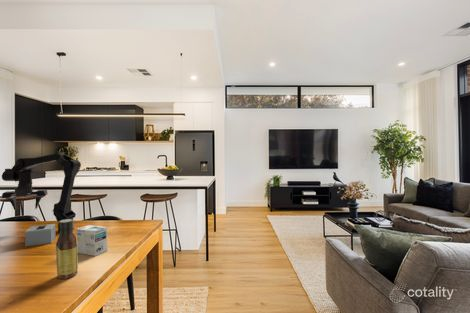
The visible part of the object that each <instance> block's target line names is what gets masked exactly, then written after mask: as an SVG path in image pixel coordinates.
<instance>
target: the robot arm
mask: <svg viewBox="0 0 470 313" xmlns="http://www.w3.org/2000/svg"><path fill="white" fill-rule="evenodd" d="M51 162H57V163H58V164H59V165H60V166H62V167H63V169H62V171H63V173H64V179H63V183H62V188H61V193H60V197H59V201H58V202H57V203H54V204H53V209H52V212H53V216H54V217H55V219H56V221H57V222H58V223H57V231H58V232H57V233H59V234H60V226H59V221H61V220H65V219H72V220H73V221H74V218H76V215H77V214H76V213H75V212H74V210H72V204H71V198H72V192H73V187H74V183H75V178H76V176H77V174H78V173H79V171H80V169H81V167H82V165H81V164H82V163H81V162H80V161H79V160H78V159H74V158H73V157H72V156H71V157H70V156H68V155H66V154H65V153H62V152H56V153H52V154H48V155H41V156H38V157H23V158H21V157H20V158H18V159H16V162H15V164H14V165H12V168H5V169H4V171H3V172H2V175H1V179H2V180H3V181H4V182H17V181H18V184H17V187H16V188H15V190H14V191H13V190H11V191H4V192H3V193H2V194H1V199H5V200H7V201H8V202H9V203H10V204H11V206H12V208H13V210H14V211H17V198H18V197H27V196H35V206H34V207H35V210H36V209H37V208H38V206H39V204H40V202H41V200H42V198H44V197H45V196H47V195H48V190H47V189H38V190H36V191H33V190H34V189H33V173H34V174H35V173H37V171H36V170H35V169H33V168H36V167H37V166H38V165H42V164H48V163H51ZM74 229H75V227H74V223H73V224H72V230H73V231H74Z"/></svg>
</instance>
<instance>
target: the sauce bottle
mask: <svg viewBox="0 0 470 313" xmlns="http://www.w3.org/2000/svg"><path fill="white" fill-rule="evenodd" d="M58 223H59V226H60V233H59V235H58V238H57V241H56V243H55V251H56V253H55V254H56V260H55V261H56V274H57V278H58V279H62V280H63V279H64V280H65V279H70V278H72V277H75V276H76V275H77V274H78V268H79V266H78V265H79V263H78V260H79V259H78V253H77V235H75V233H74V232H73V231H74V229H73V230H72V224H73V225H74V219H73V220H72V219H65V220H61V221H59V222H58Z"/></svg>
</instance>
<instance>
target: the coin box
mask: <svg viewBox="0 0 470 313" xmlns="http://www.w3.org/2000/svg"><path fill="white" fill-rule="evenodd" d="M56 236H57V235H56V223H51V224H40V225H31V226H30V227H29V228H27V229H26V230H25V231H24V245H25V247H31V246H32V247H33V246H39V245H40V246H41V245H49V244H52V243H53V241H54V240H55V239H56Z"/></svg>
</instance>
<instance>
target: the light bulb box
mask: <svg viewBox="0 0 470 313" xmlns="http://www.w3.org/2000/svg"><path fill="white" fill-rule="evenodd" d="M76 239H77V254H80V255H81V254H83V255H87V256H93V257H96V256H99V255H101V254H104V253H106V252H107V251H108V227H107V226H101V225H91V224H87V225H85V226H82V227H78V228H76Z"/></svg>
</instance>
